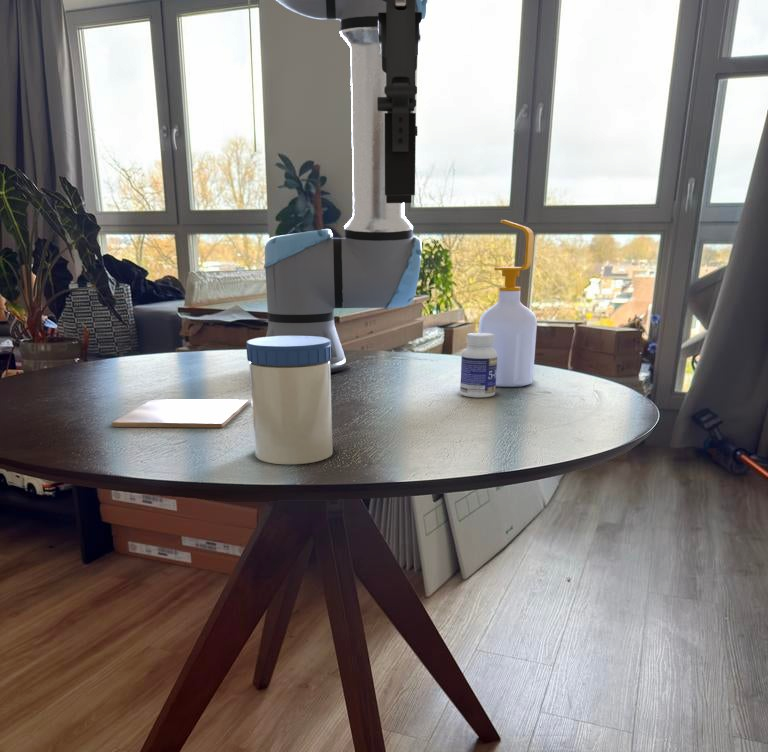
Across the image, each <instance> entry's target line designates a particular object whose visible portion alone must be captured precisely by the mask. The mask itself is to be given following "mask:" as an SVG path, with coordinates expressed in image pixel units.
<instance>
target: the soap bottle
mask: <svg viewBox="0 0 768 752" xmlns="http://www.w3.org/2000/svg"><path fill="white" fill-rule="evenodd" d="M500 223H501V224H504V225H506V226H510V227H512V228H515V229H518V230H521V231H522V232H523V233H524V235H525V253H524V254H525V256H524V263H523V265H522V266H495V267H494V269H493V270H494V271H501V277H504V286H499V288H498V289H499V290H498V301H497V302H496V303H495V304H494V305H492V306H491V307H489V308H487V310H485V311H484V312H483V313H482V314H481V316H480V319H479V321H478V333H491V334H494V342H493V343H494V344H493V345H492V349H494V350H496V352H497V371H496V388H519V387H526V386H529V385H531V384H533V382H534V371H535V359H536V356H535V355H536V342H537V330H538V329H537V327H538V320H537V317H536V314H535V313H534V312H533V311H532V310H531V309H530V308H528V307H527V306H526V305H524V304H523V303H522V302H521V286H516V283H517V277H520V274H521V273H520V272H521V271H524V270H528V269H529V268H531V267H532V265H533V255H534V254H533V253H534V239H535V234H534V231H533V230H532V229H531V228H529V227H528V226H525V225H522V224H520V223H515V222H514V221H510V220H507V219H501V220H500Z"/></svg>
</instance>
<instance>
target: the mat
mask: <svg viewBox="0 0 768 752" xmlns="http://www.w3.org/2000/svg"><path fill="white" fill-rule="evenodd" d="M248 405H249V400H248V399H176V398H175V399H168V398H166V399H163V398H162V399H160V398H158V399H155V398H152V399H150V400H148V401H147V402H146V401H145V403H143V404H141V405H140V406H138V407H136V408H133V410H130V411H129V412H127V413H125V414H123V415H121V416H120V417H119V418H117V419H115V420H113V421H111V427H113V428H183V429H184V428H185V429H186V428H187V429H188V428H193V429H194V428H195V429H197V428H198V429H199V428H200V429H202V428H203V429H222V428H224V427H225V426H226V425H227V424H228V423H230V421H231V420H232V419H234V418H235V417H236V416H237V415H238V414H240V413H241V411H242V410H244V409H245V408H246V406H248Z"/></svg>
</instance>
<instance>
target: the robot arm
mask: <svg viewBox="0 0 768 752" xmlns="http://www.w3.org/2000/svg"><path fill="white" fill-rule="evenodd" d="M275 2H277V3H279V4H280V5H281V6H283V8H286V9H288V10H290V11H291V12H293V13H296V14H299V15H301V16H304V17H307V18H310V19H315V20H327V21H328V20H329V21H331V20H332V21H333V20H335V21H339V34H340V37H342V38H343V40H344V41H345V42H346V43H347V45H348V46H349V48H350V86H351V87H350V92H351V95H350V97H351V98H350V99H351V149H352V151H351V152H352V153H351V155H352V158H351V159H352V217H351V218H350V219H349V220H348V221H347V223H345V225H344V237H334V234H333V232H332V230H331V229H330V228H324V229H318V230H309V231H303V232H296V233H288V234H282V235H276V236H272V237H270V238H269V239H267V241H266V242H265V244H264V265H263V269H265V270H264V271H265V287H266V288H265V289H266V304H267V306H266V307H267V324H268V325H267V331H266V334H265V337H272V336H316V337H324V338H328V339H330V340H331V346H332V358H331V359H330V370H331V374H333V373H338V372H341V371H344V370H345V369H346V367H347V365H346V356H345V353H344V349H343V346H342V344H341V341H340V338H339V335H338V332H337V329H336V326H335V325H336V324H335V309H384V310H388V309H393V308H405V307H408V306H409V305H411V303H412V302H413V301H414V299H415V295H416V292H417V288H418V283H419V279H420V271H421V264H422V262H421V260H422V249H423V247H422V244H423V243H422V240H421V238H420V237H418V236H415V235H414V226H413V224H412V223H411V222H410V221H409V220H408V219H407V217H406V216H405V204H411V203H412V196H415V195H416V140H417V139H416V137H417V136H418V126H417V122H416V121H417V113H416V112H415V109H416V107H417V99H416V95H417V94H418V86H417V85H416V71H417V69H418V56H419V54H420V42H421V35H422V26H423V21H425V20H426V19H427V16H428V8H429V7H428V0H275Z"/></svg>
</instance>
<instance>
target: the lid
mask: <svg viewBox="0 0 768 752" xmlns="http://www.w3.org/2000/svg"><path fill="white" fill-rule="evenodd" d="M245 348H246V359H247V361H248V362H251V363H254V364H260V365H271V366H297V365H310V364H317V363H322V362H326V361H329V360H330V359H331V358H332V346H331V340H330V339H328V338H324V337H316V336H272V337H266V336H262V337H255V338H252V339H249V340H247V341H246V347H245Z"/></svg>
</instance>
